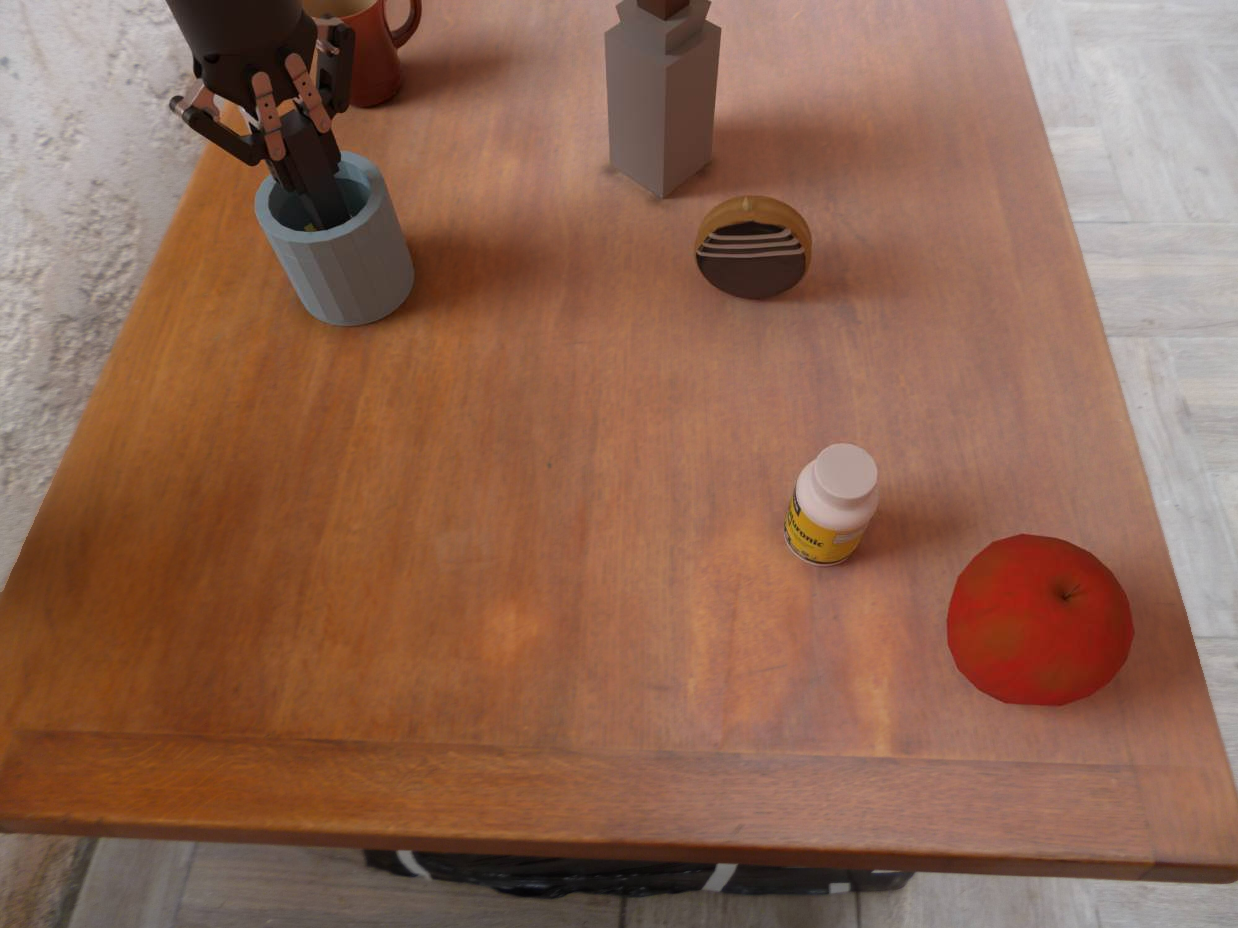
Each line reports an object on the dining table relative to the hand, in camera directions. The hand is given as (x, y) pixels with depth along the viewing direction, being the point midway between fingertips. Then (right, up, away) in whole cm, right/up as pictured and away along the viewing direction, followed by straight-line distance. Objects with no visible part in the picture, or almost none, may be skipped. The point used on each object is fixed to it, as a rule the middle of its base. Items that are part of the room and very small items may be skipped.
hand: (312, 178), depth 65 cm
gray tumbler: (0, -6, +10) cm, 12 cm away
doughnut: (+34, -7, +9) cm, 36 cm away
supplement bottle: (+38, -27, -3) cm, 46 cm away
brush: (0, -4, +8) cm, 9 cm away
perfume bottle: (+27, +7, +17) cm, 33 cm away
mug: (-1, +18, +23) cm, 29 cm away
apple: (+49, -34, -7) cm, 60 cm away
